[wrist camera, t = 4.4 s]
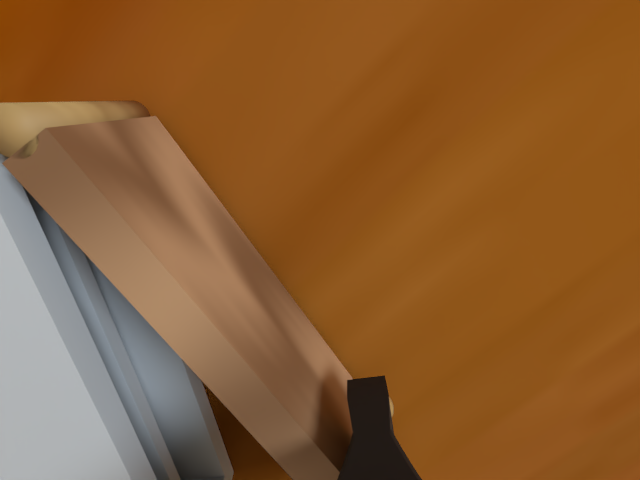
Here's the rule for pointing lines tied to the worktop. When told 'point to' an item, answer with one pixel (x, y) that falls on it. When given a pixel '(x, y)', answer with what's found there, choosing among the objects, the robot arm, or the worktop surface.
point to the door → (185, 270)
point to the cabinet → (88, 368)
